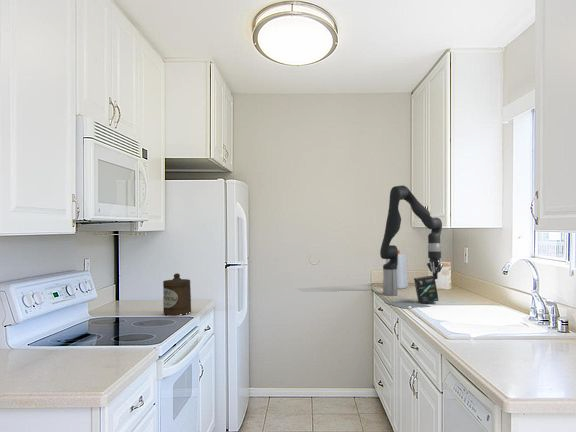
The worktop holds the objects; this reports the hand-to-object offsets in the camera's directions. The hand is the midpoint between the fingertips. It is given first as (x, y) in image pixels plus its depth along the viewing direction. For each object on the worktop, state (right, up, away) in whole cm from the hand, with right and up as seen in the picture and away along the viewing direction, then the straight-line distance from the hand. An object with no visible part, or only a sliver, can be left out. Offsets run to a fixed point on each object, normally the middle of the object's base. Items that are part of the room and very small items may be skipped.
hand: (435, 279), depth 280 cm
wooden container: (-150, -16, -25) cm, 153 cm away
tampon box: (-5, -13, -2) cm, 14 cm away
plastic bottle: (-8, -16, +67) cm, 69 cm away
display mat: (-19, -14, -7) cm, 25 cm away
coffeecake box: (+22, -15, +59) cm, 65 cm away
